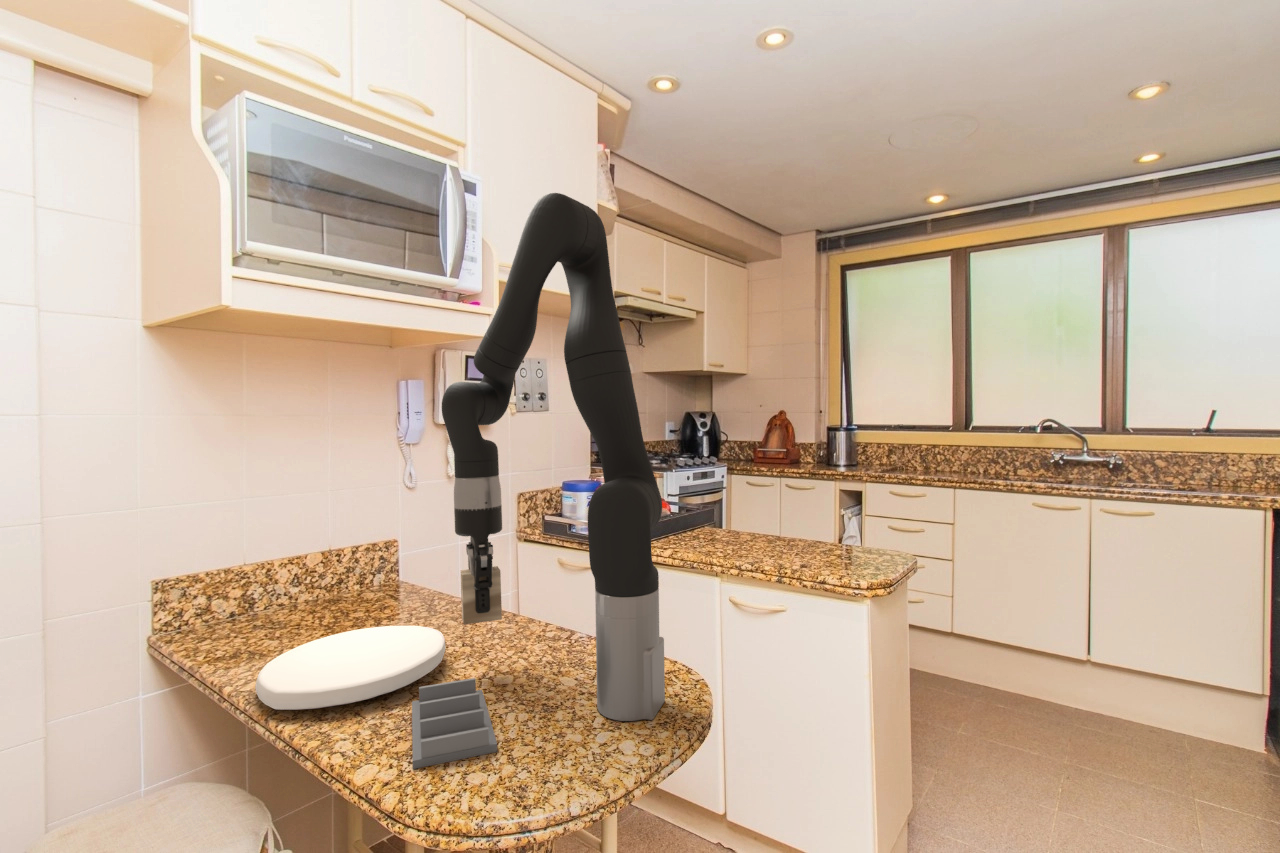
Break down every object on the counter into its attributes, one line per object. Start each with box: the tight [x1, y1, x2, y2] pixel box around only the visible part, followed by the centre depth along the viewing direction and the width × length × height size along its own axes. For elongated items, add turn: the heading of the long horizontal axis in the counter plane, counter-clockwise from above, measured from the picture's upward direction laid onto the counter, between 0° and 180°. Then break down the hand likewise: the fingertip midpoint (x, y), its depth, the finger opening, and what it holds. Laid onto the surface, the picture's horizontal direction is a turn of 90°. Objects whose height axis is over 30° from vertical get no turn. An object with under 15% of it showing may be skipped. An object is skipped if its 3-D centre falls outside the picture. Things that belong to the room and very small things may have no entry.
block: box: [460, 565, 503, 626], centre depth 100 cm, size 4×6×8 cm, turn 110°
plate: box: [255, 625, 446, 711], centre depth 100 cm, size 28×6×27 cm
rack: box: [411, 677, 498, 770], centre depth 83 cm, size 17×10×3 cm, turn 21°
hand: (481, 608), depth 100 cm, fingers closed on block, 3 cm apart
